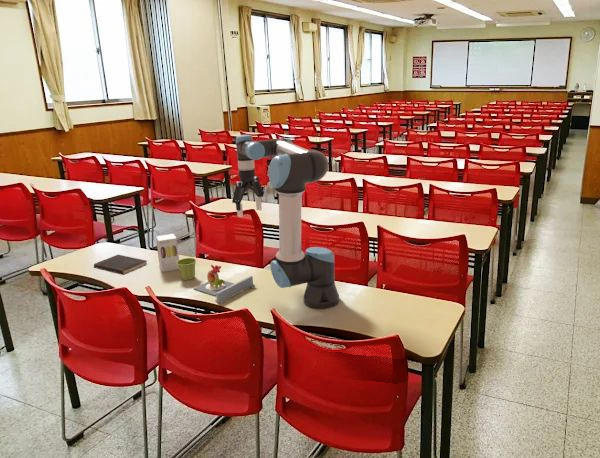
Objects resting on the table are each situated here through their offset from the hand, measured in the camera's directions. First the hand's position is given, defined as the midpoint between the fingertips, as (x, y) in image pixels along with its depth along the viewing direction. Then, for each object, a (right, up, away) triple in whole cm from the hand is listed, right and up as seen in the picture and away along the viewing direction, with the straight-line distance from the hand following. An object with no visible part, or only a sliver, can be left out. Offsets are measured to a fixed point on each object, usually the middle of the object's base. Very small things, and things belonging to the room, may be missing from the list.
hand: (249, 213), depth 232 cm
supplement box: (-44, -28, +21) cm, 56 cm away
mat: (-15, -34, -5) cm, 38 cm away
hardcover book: (-71, -27, +28) cm, 81 cm away
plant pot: (-31, -31, +7) cm, 45 cm away
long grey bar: (-5, -36, -13) cm, 39 cm away
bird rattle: (-16, -34, -6) cm, 38 cm away
